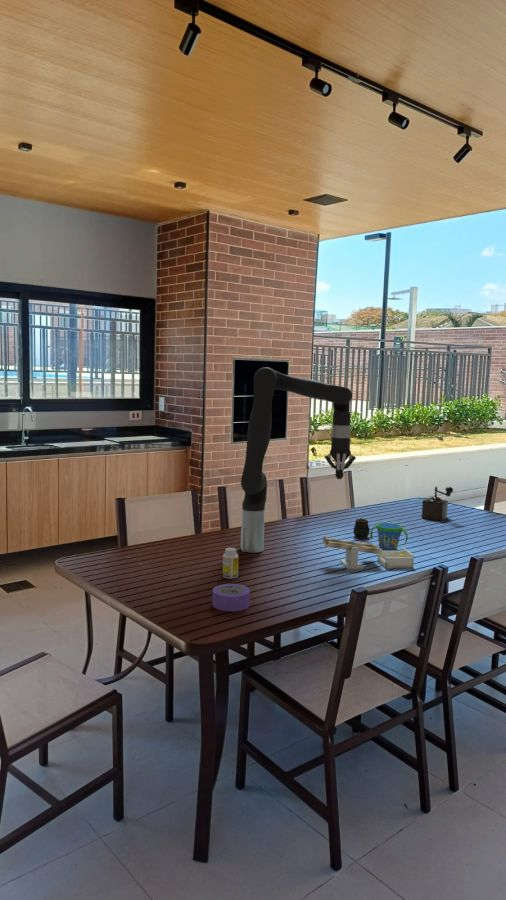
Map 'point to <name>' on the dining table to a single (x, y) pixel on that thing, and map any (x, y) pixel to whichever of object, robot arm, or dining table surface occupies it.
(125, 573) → the dining table surface
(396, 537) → the snack cup
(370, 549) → the lever
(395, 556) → the tray
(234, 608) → the tape roll
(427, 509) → the brown manual coffee grinder
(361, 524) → the mate gourd
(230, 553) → the supplement bottle
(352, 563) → the stand
